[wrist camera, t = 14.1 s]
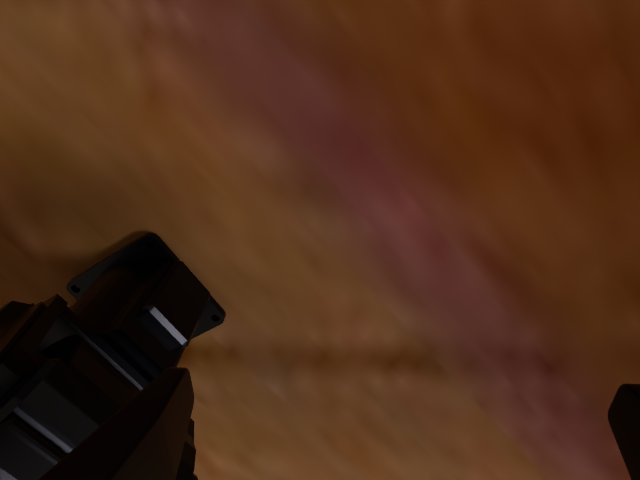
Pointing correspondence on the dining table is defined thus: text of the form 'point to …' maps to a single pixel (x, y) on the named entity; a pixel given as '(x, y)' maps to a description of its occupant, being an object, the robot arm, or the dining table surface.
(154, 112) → the dining table surface
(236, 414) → the dining table surface
